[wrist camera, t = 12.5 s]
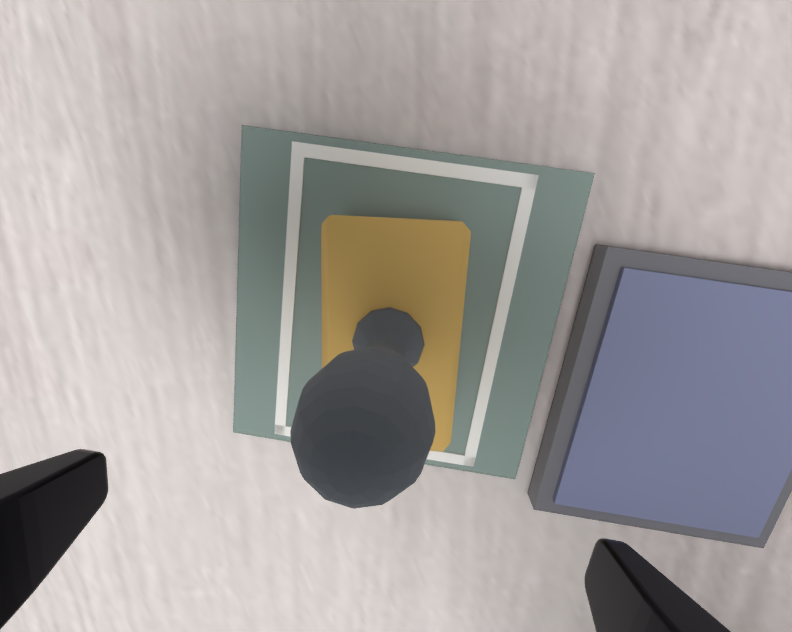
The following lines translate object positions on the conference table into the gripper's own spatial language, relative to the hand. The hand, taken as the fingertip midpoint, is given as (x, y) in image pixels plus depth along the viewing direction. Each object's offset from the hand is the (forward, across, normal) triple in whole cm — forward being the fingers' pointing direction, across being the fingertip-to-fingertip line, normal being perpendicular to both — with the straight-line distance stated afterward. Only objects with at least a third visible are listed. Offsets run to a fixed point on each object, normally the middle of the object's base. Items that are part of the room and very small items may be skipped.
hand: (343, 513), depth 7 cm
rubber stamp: (+13, 0, 0) cm, 13 cm away
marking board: (+13, 0, 0) cm, 13 cm away
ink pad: (+13, -15, +2) cm, 20 cm away
